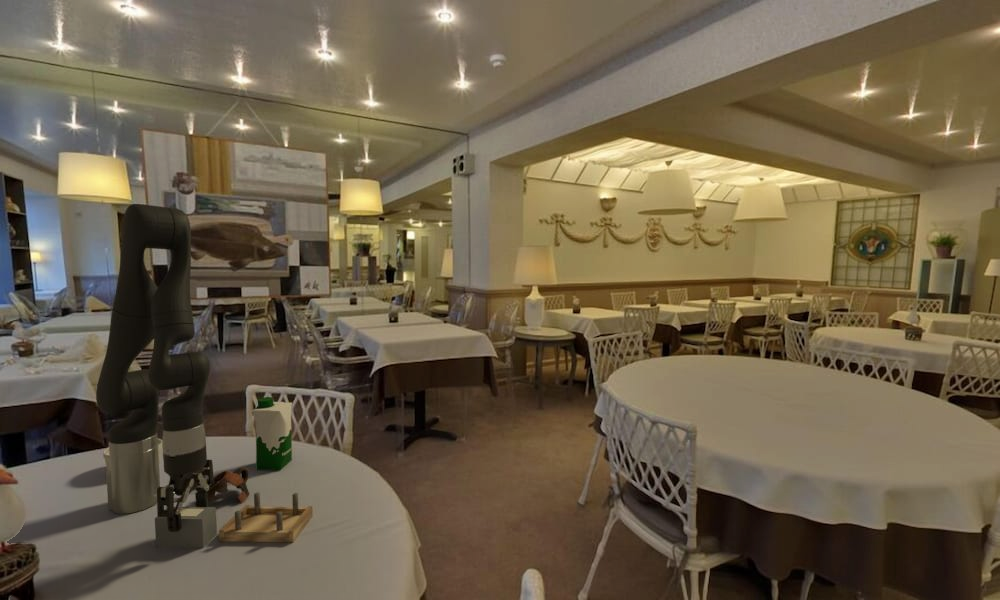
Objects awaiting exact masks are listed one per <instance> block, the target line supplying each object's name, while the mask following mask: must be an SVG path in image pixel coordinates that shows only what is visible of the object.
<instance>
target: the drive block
mask: <svg viewBox="0 0 1000 600" xmlns="http://www.w3.org/2000/svg"><path fill="white" fill-rule="evenodd" d="M174 508H176V506H174ZM180 513H181V524H182V529H181V530H180V531H178V532H170V531H169V530H168V523H167V517H158V516H155V518H154V529H155V530H154V531H155V547H156V548H178V549H179V548H180V549H182V548H184V549H186V548H187V549H189V548H190V549H192V548H193V549H204V548H205V547H207V545H208V544H209V543H210V542H212V540H213V539H214V538H216V537H217V535H218V532H217V531H218V529H217V527H218V526H217V507H215V506H214V507H213V506H210V507H209V506H208V507H196V506H182V508H181V510H180Z"/></svg>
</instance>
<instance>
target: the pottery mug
mask: <svg viewBox="0 0 1000 600" xmlns="http://www.w3.org/2000/svg"><path fill="white" fill-rule="evenodd" d="M249 475H250V473H249V470H248V469H247V467H244V466H241V467H238V468H236V469H235V470H234V471H233V472H231V471H230V470H229V469H226V470H223V471H221V472H220V473H218V474H217V475H215V476H214V483H213V484H212V485H210V486H209V490H208V491H207V493H208V501H209V500H211V501H215V498H216V497H215V496H216V493H220V494H221V493H222V494H224V493H228V492H229V491H230V490H229V489H228V484H229V483H230V484H231V485H232V486H234V487H236V489H241V492H240V493H239V495H238V496H236V497H237V500H239V503H240V504H244V503H245V502H246V500H247V499H248V498H249V496H250V492H249V489H248V487H247V482H248V479H249Z"/></svg>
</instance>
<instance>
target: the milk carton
mask: <svg viewBox="0 0 1000 600" xmlns="http://www.w3.org/2000/svg"><path fill="white" fill-rule="evenodd" d="M292 404H293V403H292V402H284V401H274V398H273V397H271V396H266V397H260V398H258V399H257V406H256V407H255V408H254V409H253V410H252V414H253V419H254V422H255V425H254V426H255V448H256V449H255V452H256V453H255V454H256V455H255V456H256V457H255V463H256V464H255V470H256V471H282V470H283V469H284V468H285V467H286V466H287V465H288V464H289V463H290V462H291V461H292V460H293V456H292V455H293V454H292V453H293V449H292V447H293V445H292V444H293V443H292V408H293V405H292Z"/></svg>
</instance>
